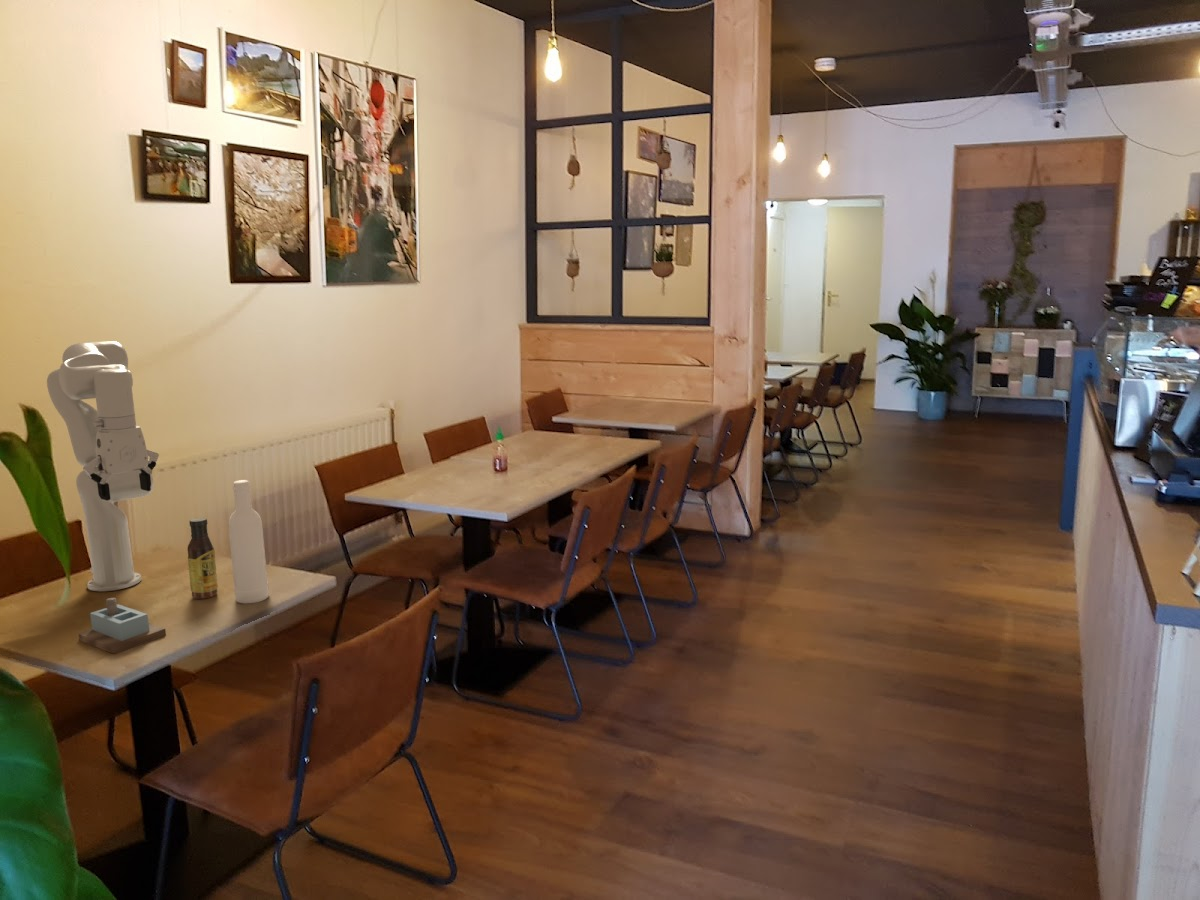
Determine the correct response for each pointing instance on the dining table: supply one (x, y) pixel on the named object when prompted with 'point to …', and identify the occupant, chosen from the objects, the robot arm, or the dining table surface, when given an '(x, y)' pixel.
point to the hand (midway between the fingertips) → (126, 494)
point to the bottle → (247, 548)
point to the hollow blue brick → (120, 623)
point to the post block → (115, 644)
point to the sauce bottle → (201, 561)
